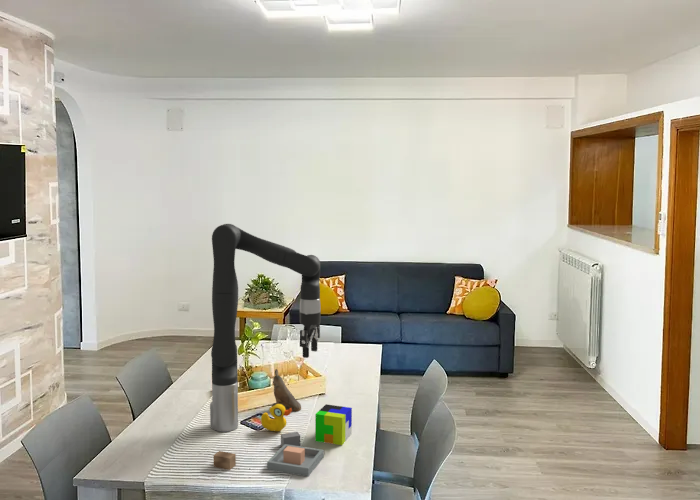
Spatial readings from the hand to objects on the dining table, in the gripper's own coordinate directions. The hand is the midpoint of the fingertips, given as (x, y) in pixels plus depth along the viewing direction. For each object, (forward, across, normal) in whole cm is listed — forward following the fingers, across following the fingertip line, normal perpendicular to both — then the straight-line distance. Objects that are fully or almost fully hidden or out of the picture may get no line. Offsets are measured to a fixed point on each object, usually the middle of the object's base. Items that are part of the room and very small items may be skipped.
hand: (310, 354), depth 229 cm
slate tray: (+28, +28, +6) cm, 40 cm away
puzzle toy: (+28, +5, +11) cm, 31 cm away
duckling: (+28, +6, -11) cm, 31 cm away
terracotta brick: (+28, +28, +5) cm, 40 cm away
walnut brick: (+28, +37, -15) cm, 49 cm away
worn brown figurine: (+28, -15, -16) cm, 36 cm away
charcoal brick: (+28, +16, -1) cm, 33 cm away
